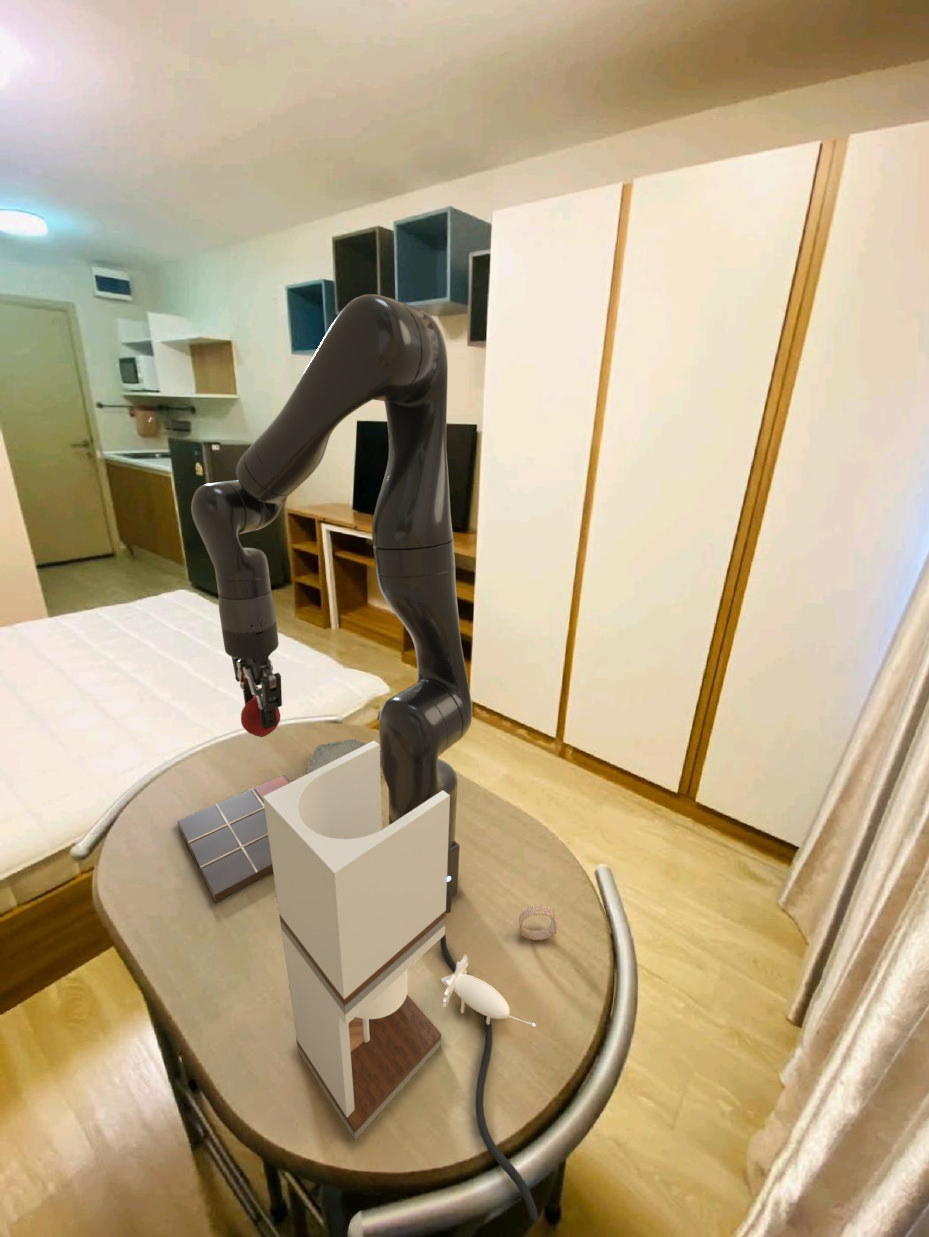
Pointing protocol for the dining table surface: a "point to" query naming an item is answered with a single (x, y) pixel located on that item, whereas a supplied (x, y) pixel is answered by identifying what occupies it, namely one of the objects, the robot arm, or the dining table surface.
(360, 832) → the white wooden tower stand
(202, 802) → the dining table surface
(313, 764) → the rock
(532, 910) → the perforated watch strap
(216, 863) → the grid board
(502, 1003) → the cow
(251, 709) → the onion
